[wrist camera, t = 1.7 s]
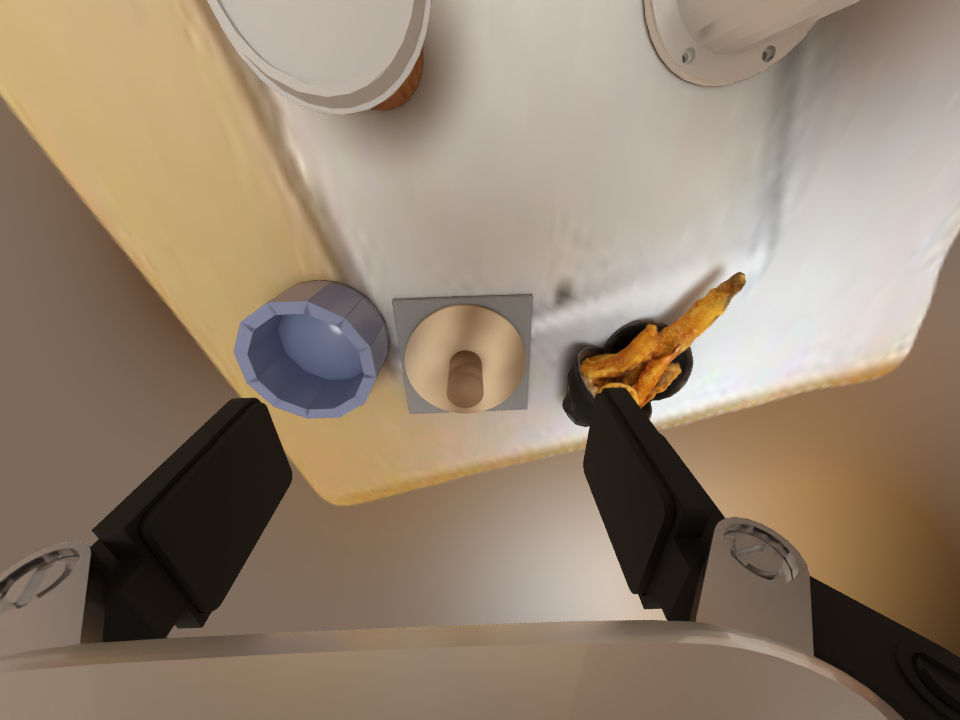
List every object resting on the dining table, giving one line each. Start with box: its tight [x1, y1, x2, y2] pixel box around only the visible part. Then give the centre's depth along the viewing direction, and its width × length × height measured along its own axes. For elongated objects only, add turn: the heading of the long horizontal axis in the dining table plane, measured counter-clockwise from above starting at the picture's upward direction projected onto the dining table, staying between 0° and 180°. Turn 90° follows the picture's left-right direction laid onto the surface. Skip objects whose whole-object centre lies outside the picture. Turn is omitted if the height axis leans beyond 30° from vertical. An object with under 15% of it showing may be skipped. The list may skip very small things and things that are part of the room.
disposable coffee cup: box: [207, 0, 431, 115], centre depth 18 cm, size 10×10×12 cm
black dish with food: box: [562, 272, 746, 427], centre depth 31 cm, size 9×11×18 cm
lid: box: [405, 304, 526, 413], centre depth 32 cm, size 12×12×6 cm
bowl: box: [234, 280, 389, 419], centre depth 31 cm, size 11×11×6 cm
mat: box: [392, 294, 532, 414], centre depth 35 cm, size 13×13×1 cm
